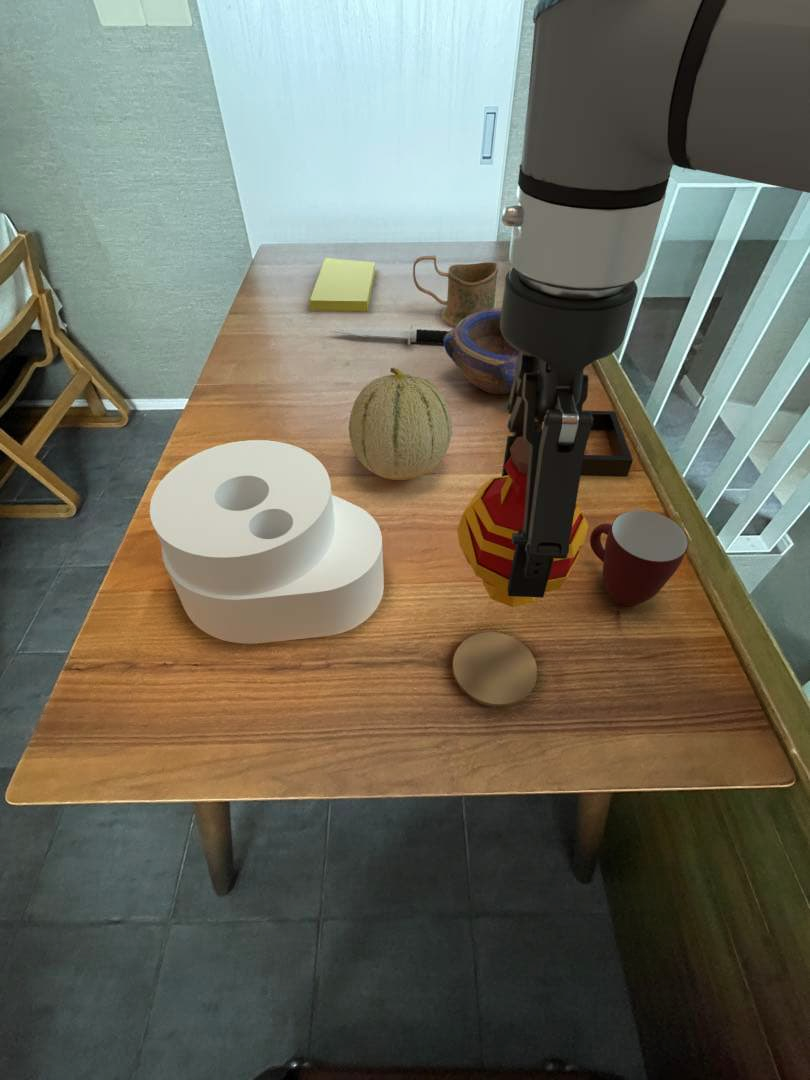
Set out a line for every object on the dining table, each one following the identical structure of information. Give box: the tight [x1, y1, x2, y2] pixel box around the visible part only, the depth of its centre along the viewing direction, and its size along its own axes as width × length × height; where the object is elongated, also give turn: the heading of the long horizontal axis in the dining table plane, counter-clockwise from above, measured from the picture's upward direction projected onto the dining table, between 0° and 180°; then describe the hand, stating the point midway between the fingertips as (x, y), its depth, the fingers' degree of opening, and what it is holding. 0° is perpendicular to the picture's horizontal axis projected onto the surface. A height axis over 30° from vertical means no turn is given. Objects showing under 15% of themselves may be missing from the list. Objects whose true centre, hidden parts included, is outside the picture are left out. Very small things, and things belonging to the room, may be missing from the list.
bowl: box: [443, 307, 520, 395], centre depth 101 cm, size 18×18×10 cm
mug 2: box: [589, 509, 689, 607], centre depth 67 cm, size 11×8×10 cm
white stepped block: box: [149, 439, 385, 645], centre depth 67 cm, size 20×25×14 cm
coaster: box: [452, 631, 538, 708], centre depth 63 cm, size 9×9×1 cm
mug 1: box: [412, 255, 499, 328], centre depth 118 cm, size 12×18×12 cm, turn 88°
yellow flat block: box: [309, 257, 376, 312], centre depth 132 cm, size 12×2×24 cm
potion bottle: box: [456, 436, 589, 608], centre depth 48 cm, size 10×10×15 cm
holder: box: [581, 409, 633, 477], centre depth 89 cm, size 13×13×3 cm
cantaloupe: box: [348, 367, 453, 481], centre depth 82 cm, size 15×15×15 cm
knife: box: [329, 324, 450, 347], centre depth 114 cm, size 26×2×5 cm
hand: (519, 541), depth 49 cm, fingers closed on potion bottle, 10 cm apart
